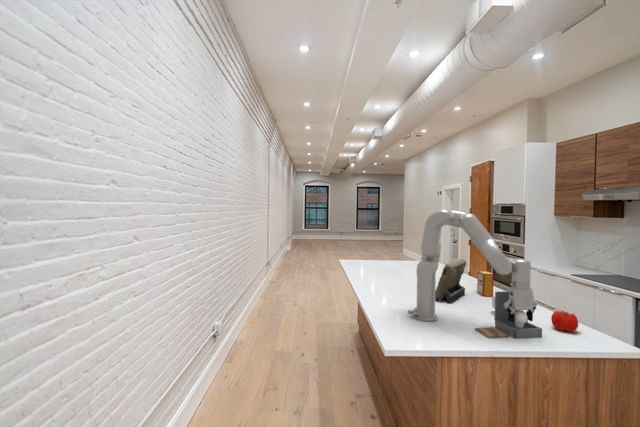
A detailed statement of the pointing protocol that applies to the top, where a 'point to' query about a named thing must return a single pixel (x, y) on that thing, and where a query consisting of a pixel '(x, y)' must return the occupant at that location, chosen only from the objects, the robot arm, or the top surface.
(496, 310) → the equipment case
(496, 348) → the top surface
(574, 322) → the tomato
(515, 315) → the lightbulb
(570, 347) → the top surface
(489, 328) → the walnut board
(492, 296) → the security camera
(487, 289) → the baking soda box
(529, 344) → the top surface
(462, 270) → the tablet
